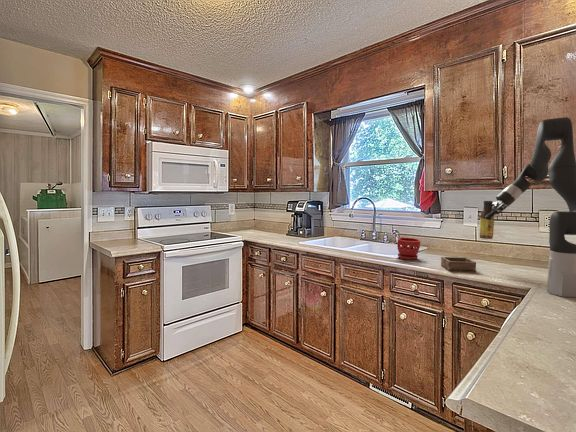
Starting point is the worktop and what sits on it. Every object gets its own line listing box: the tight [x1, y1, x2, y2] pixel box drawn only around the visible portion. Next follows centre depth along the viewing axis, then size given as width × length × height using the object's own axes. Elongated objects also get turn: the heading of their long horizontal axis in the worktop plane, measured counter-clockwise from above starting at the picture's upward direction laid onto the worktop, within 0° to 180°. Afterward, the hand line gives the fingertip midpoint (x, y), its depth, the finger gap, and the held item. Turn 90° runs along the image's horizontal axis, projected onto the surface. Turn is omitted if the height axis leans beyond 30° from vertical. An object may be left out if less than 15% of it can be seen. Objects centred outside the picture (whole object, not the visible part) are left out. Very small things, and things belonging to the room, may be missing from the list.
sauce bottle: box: [478, 200, 495, 240], centre depth 170 cm, size 7×6×20 cm
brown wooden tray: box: [440, 256, 477, 273], centre depth 172 cm, size 12×13×5 cm
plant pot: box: [396, 237, 421, 261], centre depth 198 cm, size 13×13×12 cm
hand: (483, 217), depth 170 cm, fingers closed on sauce bottle, 6 cm apart
